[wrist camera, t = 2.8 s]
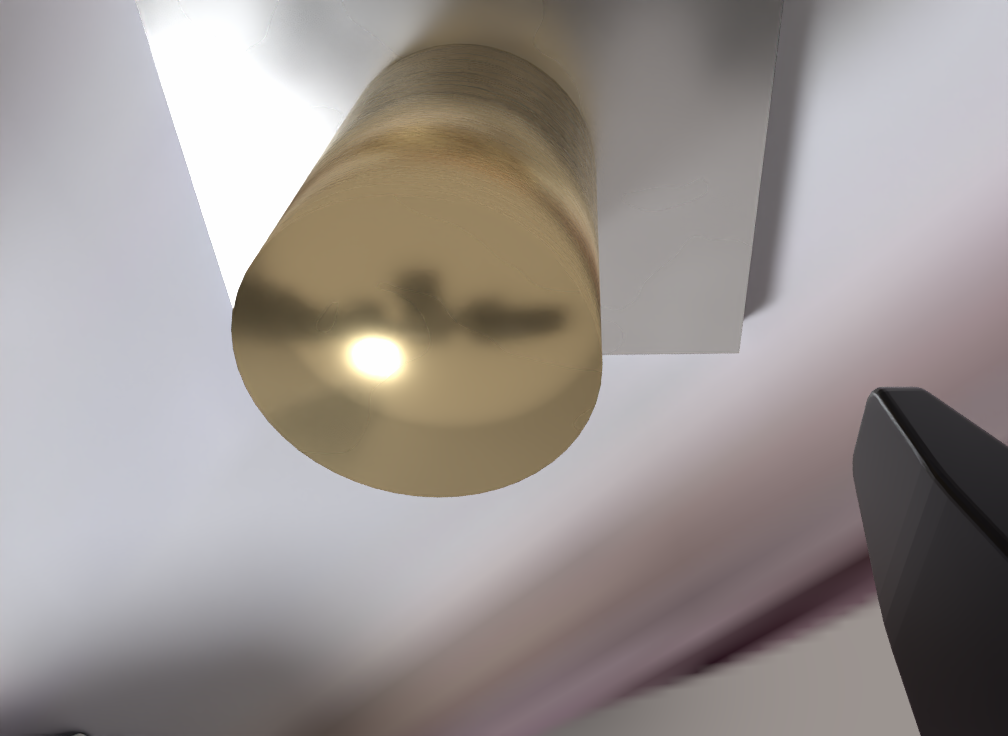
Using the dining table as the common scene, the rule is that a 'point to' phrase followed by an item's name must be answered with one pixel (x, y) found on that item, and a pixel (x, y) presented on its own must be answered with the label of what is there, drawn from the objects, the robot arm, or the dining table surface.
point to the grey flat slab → (559, 53)
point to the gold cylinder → (434, 282)
